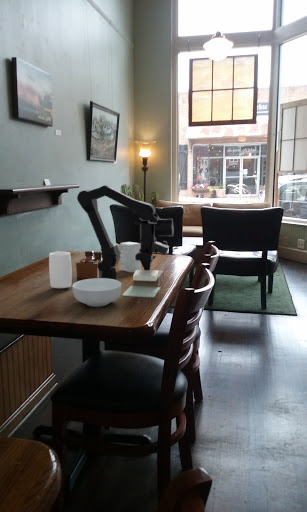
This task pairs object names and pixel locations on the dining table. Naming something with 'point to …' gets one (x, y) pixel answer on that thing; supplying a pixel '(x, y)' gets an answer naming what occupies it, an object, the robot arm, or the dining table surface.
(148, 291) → the mat
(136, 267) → the small box
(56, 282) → the cup
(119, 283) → the cereal bowl
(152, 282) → the brown flat wooden block
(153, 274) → the white rectangular block
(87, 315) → the dining table surface
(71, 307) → the dining table surface
